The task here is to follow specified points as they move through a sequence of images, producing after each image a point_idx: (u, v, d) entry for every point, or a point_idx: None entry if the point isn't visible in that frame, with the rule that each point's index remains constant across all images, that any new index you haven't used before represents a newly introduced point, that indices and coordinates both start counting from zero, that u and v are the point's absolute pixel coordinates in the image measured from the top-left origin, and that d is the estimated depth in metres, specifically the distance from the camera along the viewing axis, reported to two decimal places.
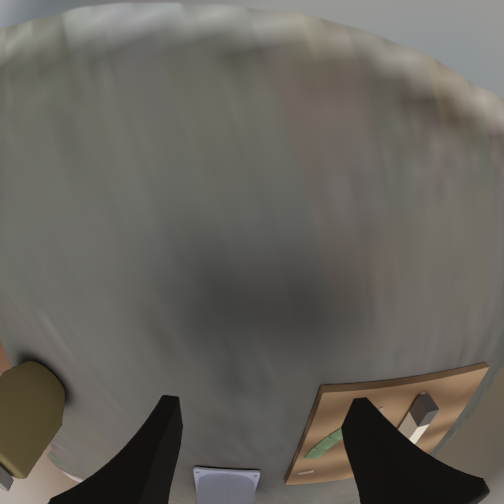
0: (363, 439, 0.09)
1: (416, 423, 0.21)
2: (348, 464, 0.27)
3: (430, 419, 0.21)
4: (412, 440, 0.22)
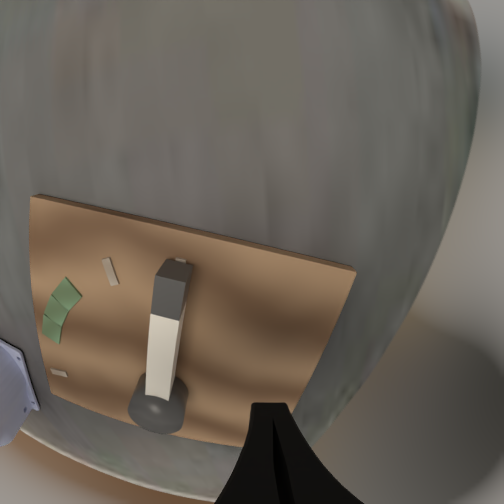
0: (273, 447, 0.09)
1: None
2: (112, 387, 0.20)
3: (174, 305, 0.14)
4: (159, 352, 0.15)
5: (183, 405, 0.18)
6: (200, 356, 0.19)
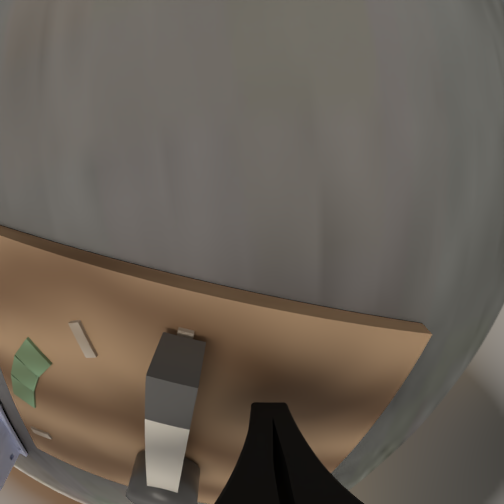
0: (273, 447, 0.09)
1: None
2: (105, 456, 0.14)
3: (180, 413, 0.08)
4: (162, 456, 0.09)
5: (196, 491, 0.12)
6: (215, 439, 0.13)
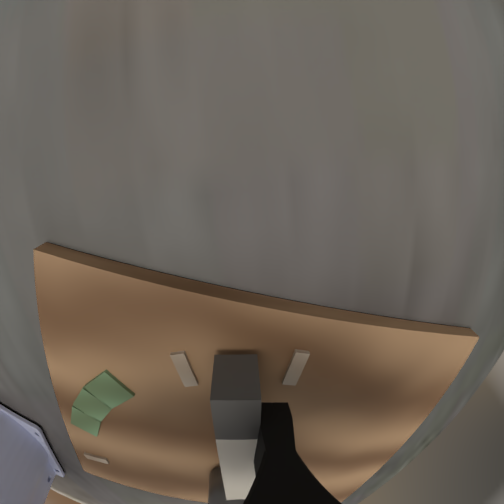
0: (258, 447, 0.09)
1: None
2: (171, 475, 0.14)
3: (249, 426, 0.09)
4: (237, 469, 0.10)
5: None
6: (298, 445, 0.13)
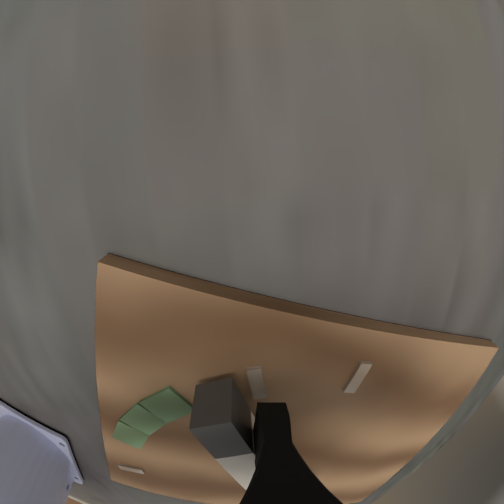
0: (260, 447, 0.09)
1: None
2: (209, 482, 0.15)
3: (235, 444, 0.09)
4: None
5: None
6: (340, 447, 0.14)
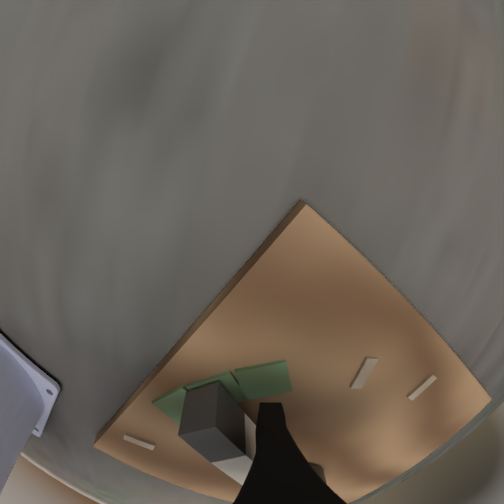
0: None
1: None
2: None
3: (225, 447, 0.09)
4: None
5: None
6: (362, 453, 0.14)
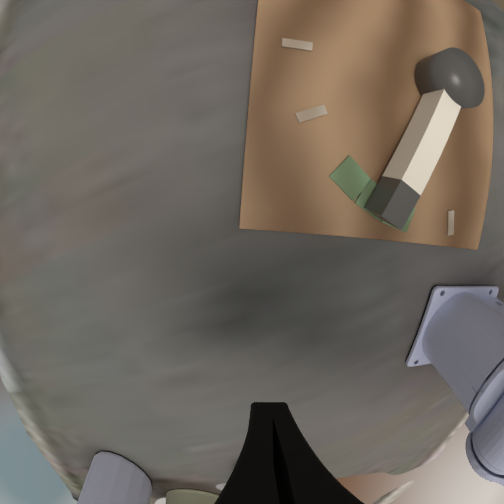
0: (273, 447, 0.09)
1: None
2: (453, 148, 0.16)
3: (399, 197, 0.14)
4: (431, 151, 0.13)
5: (429, 68, 0.12)
6: (385, 37, 0.13)
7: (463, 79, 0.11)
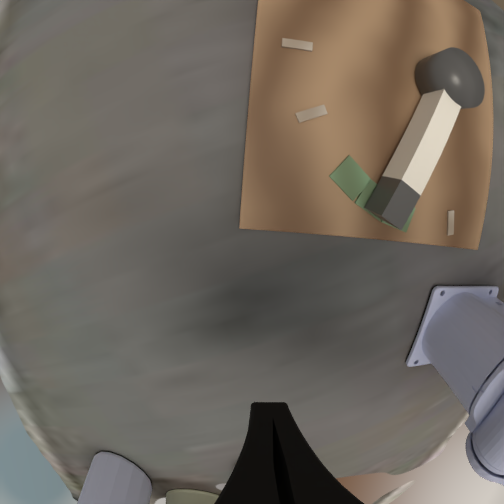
0: (273, 447, 0.09)
1: None
2: (453, 148, 0.16)
3: (399, 197, 0.14)
4: (431, 151, 0.13)
5: (429, 68, 0.12)
6: (385, 37, 0.13)
7: (463, 79, 0.11)
